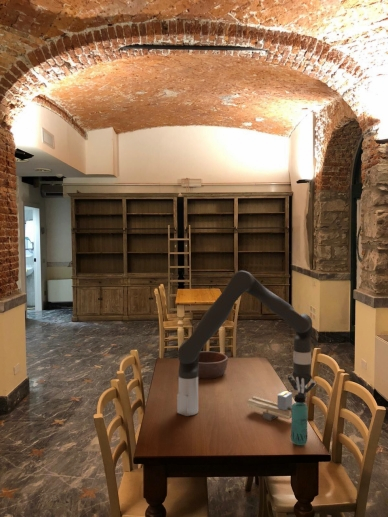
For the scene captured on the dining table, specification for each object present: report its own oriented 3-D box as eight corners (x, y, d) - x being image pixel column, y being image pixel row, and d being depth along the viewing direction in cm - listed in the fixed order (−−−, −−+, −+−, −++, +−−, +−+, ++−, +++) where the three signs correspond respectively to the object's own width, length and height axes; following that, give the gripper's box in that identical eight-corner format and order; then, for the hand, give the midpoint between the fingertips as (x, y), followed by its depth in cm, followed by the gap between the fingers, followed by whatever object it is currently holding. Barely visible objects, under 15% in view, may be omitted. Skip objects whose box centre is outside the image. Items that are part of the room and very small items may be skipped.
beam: (288, 426, 181) (288, 412, 181) (246, 413, 195) (246, 400, 194) (295, 421, 187) (295, 407, 186) (254, 408, 200) (254, 395, 200)
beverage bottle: (287, 444, 166) (287, 395, 165) (296, 439, 170) (297, 391, 169) (301, 450, 161) (302, 400, 160) (310, 444, 166) (311, 395, 165)
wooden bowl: (179, 377, 244) (179, 360, 243) (195, 365, 267) (195, 349, 266) (219, 383, 234) (219, 365, 233) (233, 370, 257) (233, 353, 256)
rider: (285, 414, 182) (285, 396, 182) (277, 412, 185) (277, 394, 184) (291, 410, 187) (292, 392, 187) (283, 407, 190) (283, 390, 189)
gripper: (284, 360, 181) (283, 399, 182) (313, 366, 172) (312, 407, 173) (291, 356, 187) (291, 394, 188) (320, 361, 178) (320, 401, 179)
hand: (301, 400), depth 181 cm, fingers closed
